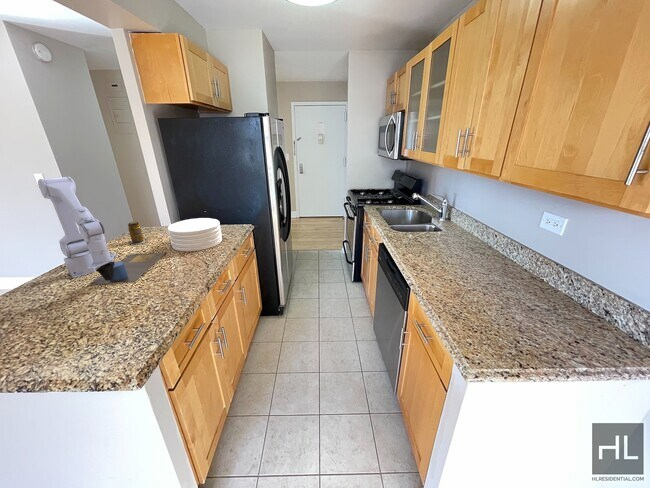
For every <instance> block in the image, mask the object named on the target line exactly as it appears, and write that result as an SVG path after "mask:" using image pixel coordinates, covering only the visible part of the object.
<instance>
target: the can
mask: <svg viewBox="0 0 650 488" xmlns="http://www.w3.org/2000/svg"><path fill="white" fill-rule="evenodd" d="M113 262H114V263H115V264H114V267H113V279H112V280H110V281H119V280H122V279H124V278H126V277H127V272H126V269H125V266H124V263H123V262H121V261H113Z"/></svg>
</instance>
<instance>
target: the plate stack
mask: <svg viewBox="0 0 650 488" xmlns="http://www.w3.org/2000/svg"><path fill="white" fill-rule="evenodd" d="M167 231H168V236H169V240H170V244H171V245H170V246H171V248H172V249H173V250H174V251H179V252H197V251H203V250H206V249H210V248H213V247H215V246H217V245H219V244H221V243H222V241H223V237H222V236H223V235H222V229H221V223H220V220H218V219H216V218H210V217H198V218H189V219H184V220H179V221H177V222H174V223H171V224H169V225H168V226H167Z"/></svg>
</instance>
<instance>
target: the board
mask: <svg viewBox="0 0 650 488" xmlns="http://www.w3.org/2000/svg"><path fill="white" fill-rule="evenodd" d="M154 254H156V255H154ZM166 254H167V252H153V253H134V254H129V255H128V256H126V257H125V258H124V259H122V260H121V261H120V262H123V263H124V266H125V269H126V272H127V277H126V278H124V279H122V280H119V281H110V280H107V281H106V280H105V279H104V278H103V276H102V275H101V274H100V276H99V277H97V278H96V279H95V280H93V281H92V282H90V283H89V285H103V284H118V283H119V284H121V283H133V282H134V283H135V282H136V281H137V280H138V279H140V278H141V276H143V275H144V274H145V273H146V272H147V271H148V270H149V269H150V268H152V266H154V265H155V264H156V263H157V262H158V261H159V260H160V259H162V258H163V257H164V256H165V255H166ZM138 255H140V256H142V255H144V257H145V256H146V257H147V255H149V257H151V256H153V255H154V256H153V257H152V258H149V257H148V258H149V259H150V260H148V258H147V260H146V261H144V260H141V262H137V261H136V262H133V260H132V259H134V258H137V257H136V256H138ZM150 255H151V256H150ZM138 258H139V257H138ZM130 261H132V262H130ZM138 261H139V260H138ZM143 261H144V262H143Z"/></svg>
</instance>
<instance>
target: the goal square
mask: <svg viewBox="0 0 650 488" xmlns="http://www.w3.org/2000/svg"><path fill="white" fill-rule="evenodd" d="M154 255H156V254H154ZM154 255H153V256H154ZM150 256H151V255H150ZM153 256H151V257H149V255H147V257H146V256H145V257H144V255H142V256H140V255H138V256H136V257H137V258H134V259H132V260H133V262H136V261H137V262H141V260H144V261H146V260H147V258H148V257H149V258H152V257H153ZM138 257H139V258H138ZM149 258H148V260H150V259H149ZM138 260H139V261H138ZM144 261H143V262H144ZM130 262H132V261H130Z"/></svg>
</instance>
